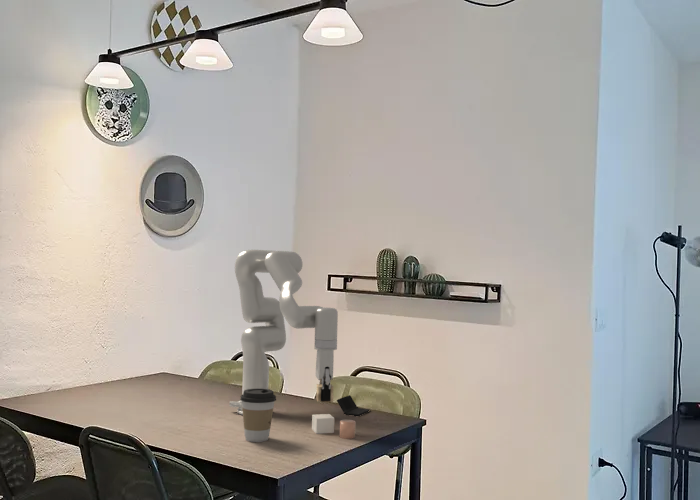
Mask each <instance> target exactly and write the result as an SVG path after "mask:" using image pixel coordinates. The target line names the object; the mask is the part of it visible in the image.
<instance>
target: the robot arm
mask: <svg viewBox="0 0 700 500" xmlns="http://www.w3.org/2000/svg"><path fill="white" fill-rule="evenodd" d="M234 262H235V263H234V274H235V277H236V280H237V284H238V290H239V298H240V305H241V315H242V318H243V320H244V321H245V322H247V323H249V324H260V323H261V324H262V323H263V324H264V325H258V326H257V325H256V326H251V327H248V328H246V329H245V330H243V332H242V333H241V338H240V343H241V348H242V360H243V361H242V385H241V386H242V389H241V392H242V394H241V395H243V393H244V390H247V389H256V388H259V389H269V382H270V381H269V379H270V377H269V376H270V362H269V359H268V357H267V355H266V352H276V351H280V350H282V349H283V348H284V347H285V344H286V342H287V341H286V340H287V333H286V325H285V320H286V322H287V323H288V325H290V326H291V327H292V328H293V329H301V330H302V329H314V350H316V357H315V359H316V362H315V378H316V379H317V380H318V382H319V383H318V384H322V389H321V401H330V400H331V389H330V384H331V381H332V380H333V379H334V353H335V352H334V351H336V350H337V349H338V321H339V320H338V316H339V315H338V312H339V311H338V310H337V309H336V308H334V307H323V306H320V305H298V303H297V301H296V300H295V298H294V294H296V293H297V292H298V291H299V290H300V289H301V287H302V286H303V279H302V278H301V276H300V275H299V274H300V272H301V271H302V269H303V259H302V257H301V255H300V254H298V253H297V252H295V251H290V250H289V251H288V250H287V251H286V250H285V251H284V250H268V249H267V250H264V249H247V250H244V251H243V250H242V251H241V252H239V254H238V255H237V256H236V259H235V261H234ZM257 273H260V274H261V273H262V274H263V273H264V274H265V273H266V274H267V273H269V275H270V277H271V278H272V280H273V281H274V283H275V285H276V286H277V288H278V289H279V291H280V293H279V296H278V297H279V298H278V299H279V300H278V299H277V298H275V297H270V296H269V297H265V296H264V292H263V290H264V289H263V286H262V283H261V281H260V279H259V277H258V276H257ZM228 403H229V404H228V405H229V406H228V407H230V408H237V410H236V412H237V413H236V414H239V415H242V416H243V410H242V401H241V400H237V401H233V400H232V401H230V400H229V402H228Z"/></svg>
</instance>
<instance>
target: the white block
mask: <svg viewBox="0 0 700 500" xmlns="http://www.w3.org/2000/svg"><path fill="white" fill-rule="evenodd" d="M311 419H312V420H311V430H312V431H313V432H314V433H315V434H316V435H317V434H333V433H335V417H334V416H333V415H331V414H330V413H320V414H311Z"/></svg>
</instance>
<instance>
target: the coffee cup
mask: <svg viewBox="0 0 700 500" xmlns="http://www.w3.org/2000/svg"><path fill="white" fill-rule="evenodd" d="M239 401H242V410H243V415H242V419H243V428H244V431H243V432H244V437H245V441H247V442H251V443H262V442H266V441H268V440H269V437H270V433H271V427H272V426H271V425H272V419H273V414H274V406H275V402H276V401H277V396H276V395H275V394H274V391H273V389H269V388H268V389H259V388H256V389H247V390H244V393H243V395H242V394H241V395H240V398H239Z"/></svg>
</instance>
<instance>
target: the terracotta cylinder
mask: <svg viewBox="0 0 700 500" xmlns="http://www.w3.org/2000/svg"><path fill="white" fill-rule="evenodd" d="M339 438H341V439H344V440H351V439H355V438H356V421H355V420H352V419H342V420H340V421H339Z"/></svg>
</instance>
